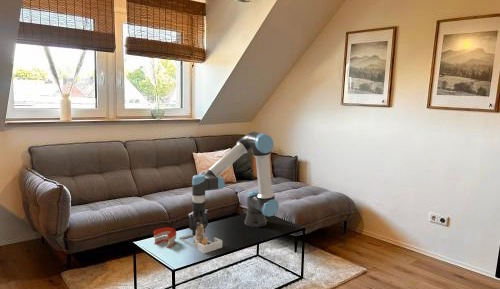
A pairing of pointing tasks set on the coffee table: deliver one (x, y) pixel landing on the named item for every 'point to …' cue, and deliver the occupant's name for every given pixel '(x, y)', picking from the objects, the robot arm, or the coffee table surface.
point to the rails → (188, 242)
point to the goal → (210, 246)
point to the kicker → (199, 234)
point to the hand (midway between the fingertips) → (198, 239)
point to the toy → (165, 231)
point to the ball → (204, 242)
